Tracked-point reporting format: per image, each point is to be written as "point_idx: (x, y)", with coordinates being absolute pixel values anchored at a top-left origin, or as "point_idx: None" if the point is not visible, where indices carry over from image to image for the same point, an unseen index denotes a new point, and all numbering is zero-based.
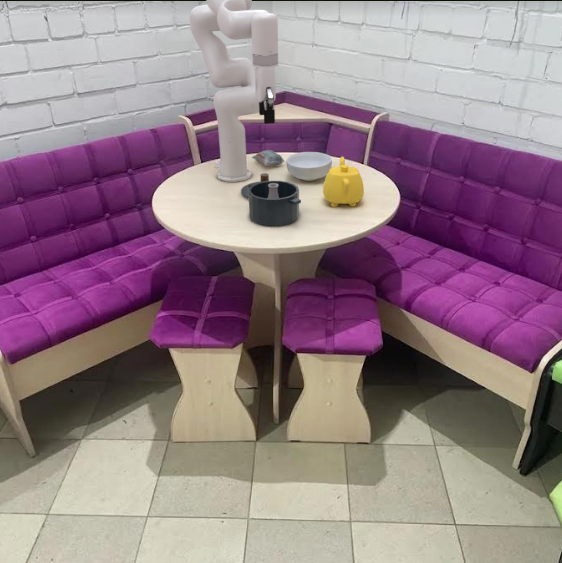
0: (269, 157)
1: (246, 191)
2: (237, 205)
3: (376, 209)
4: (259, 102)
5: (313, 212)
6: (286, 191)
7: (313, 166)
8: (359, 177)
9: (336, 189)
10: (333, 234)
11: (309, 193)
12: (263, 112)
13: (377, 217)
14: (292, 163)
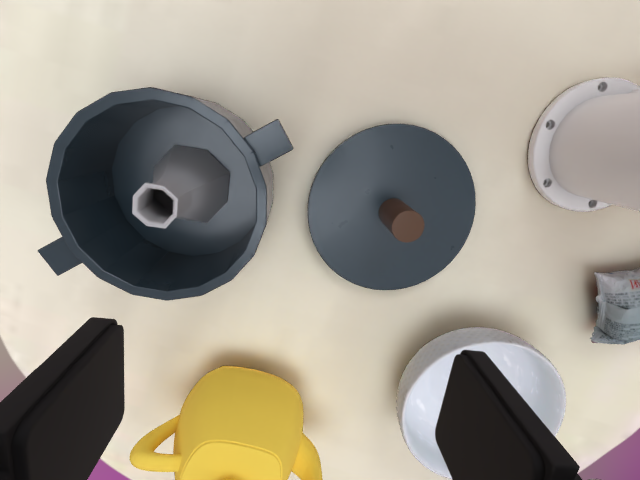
0: (626, 302)
1: (405, 144)
2: (320, 85)
3: None
4: (549, 467)
5: (189, 306)
6: (231, 259)
7: None
8: None
9: (187, 413)
10: (23, 310)
11: (334, 337)
12: (456, 401)
13: (114, 445)
14: (532, 358)
